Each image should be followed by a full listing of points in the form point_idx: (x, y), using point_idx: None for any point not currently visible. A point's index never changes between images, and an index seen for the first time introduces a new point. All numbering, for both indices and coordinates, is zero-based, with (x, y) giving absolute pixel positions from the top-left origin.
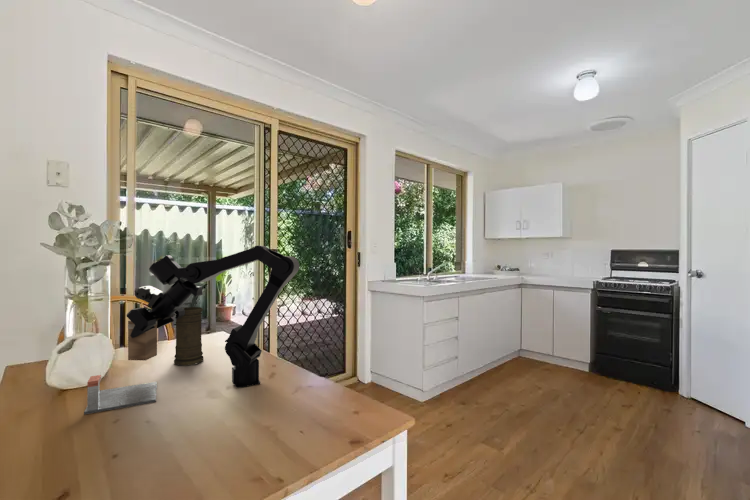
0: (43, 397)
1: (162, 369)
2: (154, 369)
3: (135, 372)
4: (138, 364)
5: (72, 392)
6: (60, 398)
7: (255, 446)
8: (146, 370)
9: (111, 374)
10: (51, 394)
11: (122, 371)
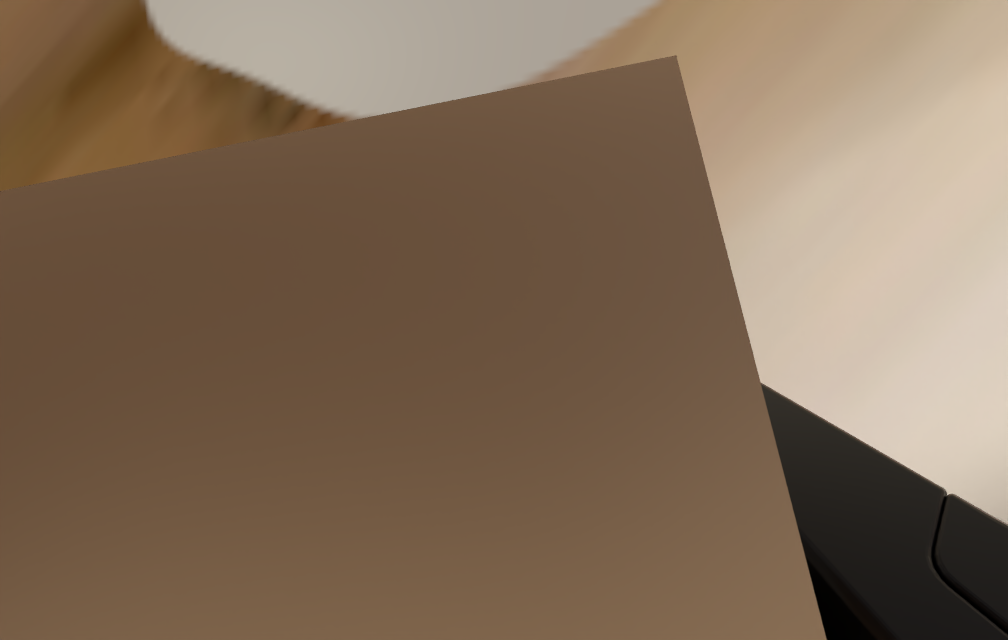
0: (14, 16)
1: (942, 441)
2: (908, 341)
3: (749, 213)
4: (990, 8)
5: (138, 133)
6: (6, 170)
7: None
8: (846, 277)
9: (624, 28)
10: (78, 11)
11: (734, 51)
